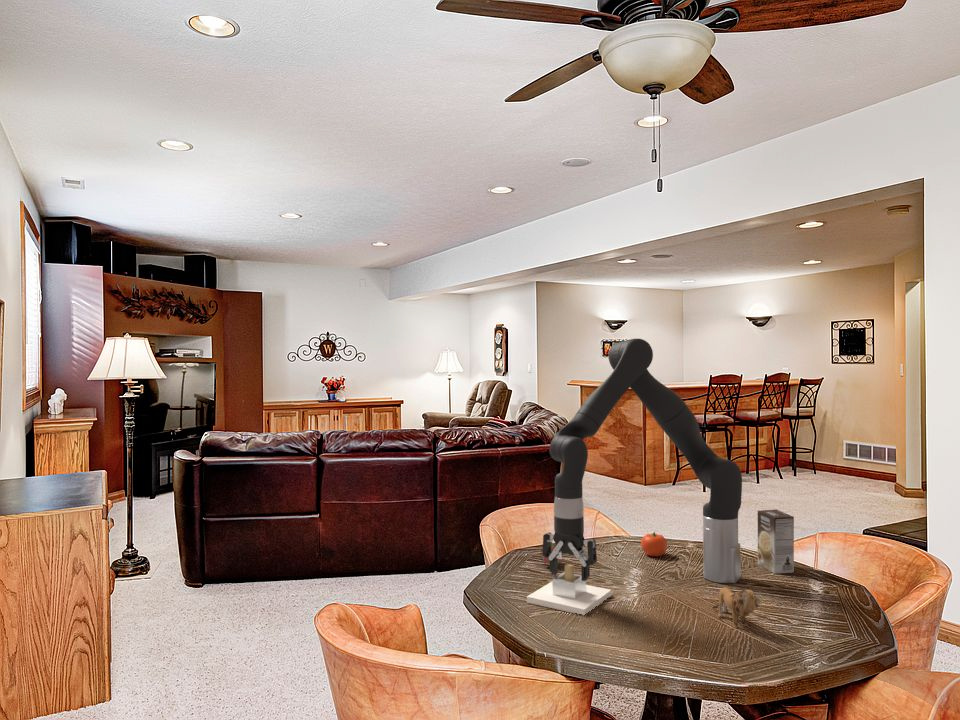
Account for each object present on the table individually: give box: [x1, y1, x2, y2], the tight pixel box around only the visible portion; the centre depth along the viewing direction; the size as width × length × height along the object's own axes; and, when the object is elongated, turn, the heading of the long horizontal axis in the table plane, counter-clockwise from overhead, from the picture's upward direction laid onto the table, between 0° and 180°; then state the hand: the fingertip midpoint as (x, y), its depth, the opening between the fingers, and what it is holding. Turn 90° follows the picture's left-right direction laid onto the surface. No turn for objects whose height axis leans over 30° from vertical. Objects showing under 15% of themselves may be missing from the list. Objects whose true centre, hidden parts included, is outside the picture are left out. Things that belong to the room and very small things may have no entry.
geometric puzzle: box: [538, 541, 564, 565], centre depth 201 cm, size 7×7×8 cm
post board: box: [526, 563, 612, 616], centre depth 174 cm, size 16×16×8 cm
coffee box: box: [757, 509, 795, 574], centre depth 196 cm, size 9×6×16 cm
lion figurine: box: [712, 586, 762, 629], centre depth 158 cm, size 15×5×9 cm, turn 19°
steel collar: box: [551, 571, 587, 599], centre depth 174 cm, size 6×6×4 cm
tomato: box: [640, 531, 668, 557], centre depth 210 cm, size 8×8×7 cm
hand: (569, 577), depth 173 cm, fingers open, 8 cm apart
